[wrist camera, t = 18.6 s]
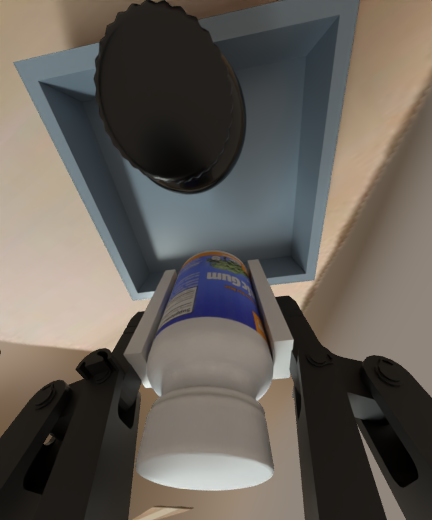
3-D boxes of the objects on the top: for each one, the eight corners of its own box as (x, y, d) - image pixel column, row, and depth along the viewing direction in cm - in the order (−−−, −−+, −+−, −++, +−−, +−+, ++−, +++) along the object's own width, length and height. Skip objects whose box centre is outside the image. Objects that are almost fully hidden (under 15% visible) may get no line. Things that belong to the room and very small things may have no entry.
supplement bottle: (146, 132, 16) (8, 66, 5) (206, 74, 14) (172, -205, 3) (192, 196, 19) (159, 236, 8) (247, 155, 17) (298, 136, 6)
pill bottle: (262, 276, 13) (346, 476, 5) (216, 314, 15) (215, 503, 7) (210, 232, 12) (190, 418, 3) (165, 280, 13) (75, 478, 5)
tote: (71, 92, 15) (13, 62, 11) (315, 41, 14) (362, -19, 9) (147, 276, 25) (132, 300, 20) (295, 258, 23) (314, 280, 19)
